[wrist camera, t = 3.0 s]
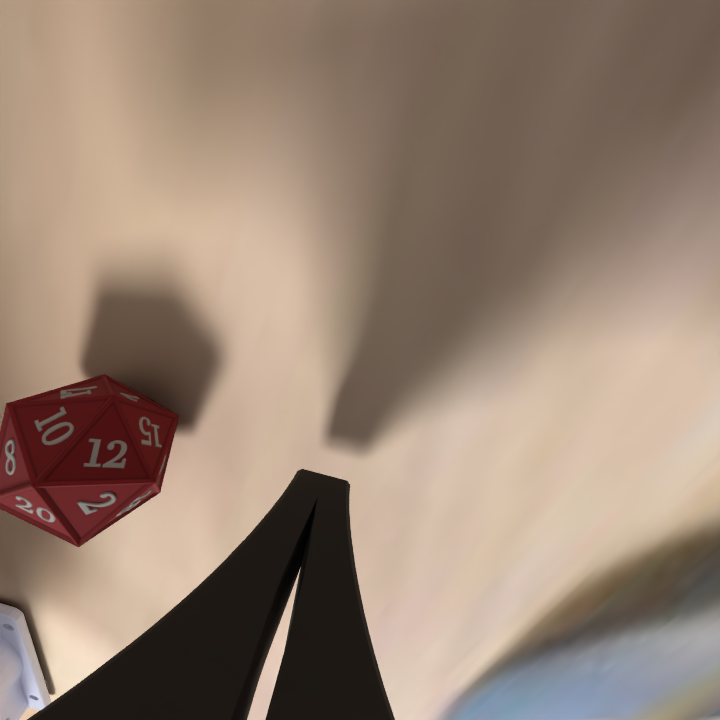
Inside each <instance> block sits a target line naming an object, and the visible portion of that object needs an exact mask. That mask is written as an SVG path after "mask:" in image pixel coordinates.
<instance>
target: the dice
mask: <svg viewBox="0 0 720 720" xmlns="http://www.w3.org/2000/svg"><path fill="white" fill-rule="evenodd" d="M178 418H179V415H177V414H175V413H173V412H171V411H169V410H168V409H166V408H164V407H162V406H160V405H159V404H157V403H155V402H153V401H151V400H150V399H148V398H146V397H144V396H143V395H141V394H139V393H137V392H135V391H134V390H132V389H130V388H128V387H126V386H125V385H123V384H121V383H119V382H118V381H116V380H114V379H112V378H110V377H109V376H107V375H105V374H103V375H101V376H98V377H94V378H91V379H88V380H84V381H81V382H78V383H74V384H71V385H67V386H64V387H61V388H57V389H54V390H51V391H47V392H44V393H41V394H37V395H34V396H31V397H27V398H24V399H20V400H17V401H13V402H10V403H6V408H5V413H4V417H3V422H2V426H1V430H0V509H2V510H4V511H6V512H8V513H10V514H12V515H14V516H16V517H18V518H20V519H22V520H24V521H26V522H28V523H30V524H33V525H35V526H37V527H39V528H41V529H43V530H45V531H47V532H49V533H51V534H53V535H55V536H57V537H59V538H61V539H63V540H65V541H67V542H69V543H71V544H73V545H75V546H77V547H80V546H81V545H83V544H84V543H85V542H87V541H88V540H90V539H91V538H93V537H94V536H96V535H97V534H99V533H100V532H102V531H103V530H105V529H106V528H108V527H109V526H111V525H112V524H114V523H115V522H117V521H118V520H120V519H121V518H123V517H124V516H126V515H127V514H129V513H130V512H132V511H133V510H135V509H136V508H138V507H139V506H141V505H142V504H144V503H145V502H147V501H148V500H150V499H151V498H153V497H154V496H156V495H157V494H159V493H160V492H161V487H162V482H163V478H164V474H165V470H166V466H167V462H168V458H169V454H170V450H171V446H172V442H173V438H174V434H175V430H176V426H177V422H178Z"/></svg>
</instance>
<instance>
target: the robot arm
mask: <svg viewBox="0 0 720 720" xmlns="http://www.w3.org/2000/svg"><path fill="white" fill-rule="evenodd" d="M349 491H350V484H349V483H348V481H346V480H342V479H338V478H335V477H331V476H327V475H323V474H319V473H316V472H312V471H308V470H304V469H301V470H299V471H297V473H296V475H295V476H294V478H293V480H292V481H291V483H290V484H289V486H288V487H287V489H286V490H285V492H284V493H283V494H282V496H281V497H280V498H279V500H278V501H277V502H276V503H275V505H274V506H273V507H272V509H271V510H270V511H269V512H268V513H267V514H266V516H265V517H264V518H263V519H262V520H261V522H260V523H259V524H258V525H257V526H256V527H255V529H254V530H253V531H252V532H251V533H250V534H249V535H248V536H247V538H246V539H245V540H244V541H243V542H242V543H241V544H240V545H239V546H238V547H237V548H236V549H235V550H234V551H233V552H232V553H231V554H230V555H229V556H228V558H227V559H226V560H225V561H224V562H223V563H222V564H221V565H220V566H219V567H218V568H217V569H216V570H215V571H214V572H213V573H211V574H210V575H209V576H208V577H207V578H206V579H205V580H204V581H203V582H202V583H201V584H200V585H199V586H198V587H197V588H195V589H194V590H193V591H192V592H191V593H190V594H189V595H188V596H187V597H186V598H184V599H183V600H182V601H181V602H180V603H179V604H178V605H176V606H175V607H174V608H173V609H172V610H171V611H169V612H168V613H167V614H166V615H165V616H164V617H162V618H161V619H160V620H159V621H158V622H157V623H155V624H154V625H153V626H152V627H151V628H149V629H148V630H147V631H146V632H145V633H143V634H142V635H141V636H140V637H138V638H137V639H136V640H135V641H133V642H132V643H131V644H130V645H128V646H127V647H126V648H124V649H123V650H122V651H120V652H119V653H118V654H116V655H115V656H114V657H113V658H111V659H110V660H109V661H107V662H106V663H105V664H103V665H102V666H101V667H99V668H98V669H97V670H96V671H94V672H93V673H92V674H90V675H89V676H88V677H86V678H85V679H84V680H82V681H81V682H80V683H78V684H77V685H76V686H74V687H73V688H72V689H70V690H69V691H67V692H66V693H65V694H63V695H62V696H60V697H59V698H58V699H56V700H55V701H53V702H52V703H50V702H51V699H50V696H49V693H48V690H47V686H46V683H45V680H44V677H43V674H42V671H41V668H40V664H39V661H38V658H37V655H36V652H35V649H34V645H33V642H32V639H31V636H30V633H29V630H28V626H27V623H26V620H25V617H24V614H23V613H22V612H21V611H20V610H19V609H17V608H15V607H12V606H8V605H5V604H1V603H0V720H19V719H20V718H21V716H22V715H23V713H24V712H25V711H26V709H27V708H28V707H30V708H34V709H37V710H40V711H39V712H37V713H36V714H35V715H33V716H32V717H30V718H29V719H27V720H247V717H248V714H249V711H250V707H251V704H252V701H253V697H254V694H255V691H256V687H257V684H258V681H259V678H260V675H261V672H262V669H263V666H264V663H265V660H266V657H267V655H268V652H269V649H270V647H271V644H272V641H273V639H274V636H275V634H276V631H277V628H278V626H279V623H280V620H281V618H282V615H283V612H284V610H285V607H286V604H287V602H288V599H289V596H290V594H291V591H292V589H293V586H294V583H295V581H296V578H297V575H298V573H299V570H300V574H299V579H298V584H297V589H296V594H295V600H294V605H293V610H292V615H291V620H290V625H289V630H288V636H287V641H286V646H285V651H284V655H283V658H282V662H281V666H280V669H279V673H278V677H277V680H276V684H275V687H274V691H273V695H272V698H271V702H270V706H269V709H268V713H267V716H266V720H395V719H394V716H393V713H392V710H391V707H390V703H389V700H388V697H387V694H386V691H385V688H384V685H383V682H382V678H381V675H380V671H379V668H378V664H377V661H376V657H375V654H374V650H373V646H372V642H371V638H370V635H369V631H368V627H367V622H366V618H365V614H364V609H363V605H362V600H361V595H360V590H359V585H358V579H357V574H356V568H355V561H354V554H353V546H352V539H351V529H350V515H349ZM300 567H301V569H300Z"/></svg>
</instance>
